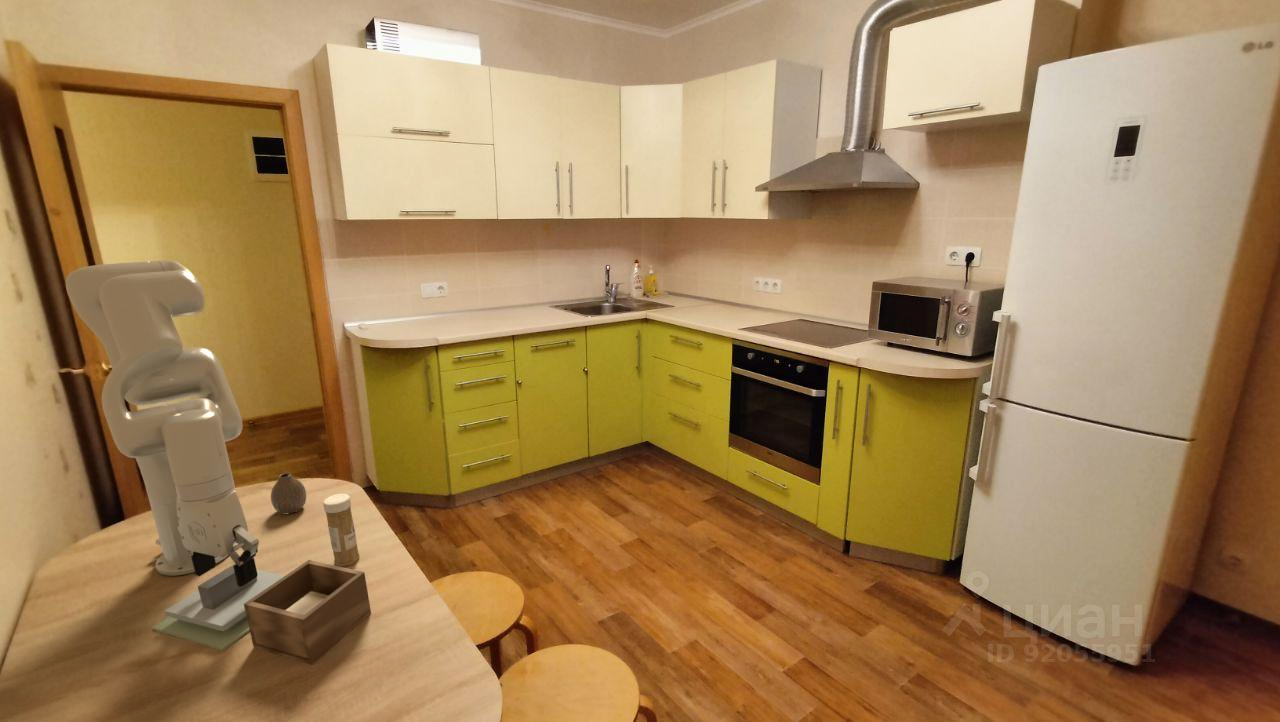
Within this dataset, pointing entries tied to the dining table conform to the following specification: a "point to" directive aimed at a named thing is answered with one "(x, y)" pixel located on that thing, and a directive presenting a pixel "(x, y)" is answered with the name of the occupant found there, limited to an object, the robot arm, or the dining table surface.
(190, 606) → the lid
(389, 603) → the dining table surface
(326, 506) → the sprinkles bottle
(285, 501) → the vase
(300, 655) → the box
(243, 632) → the mat
